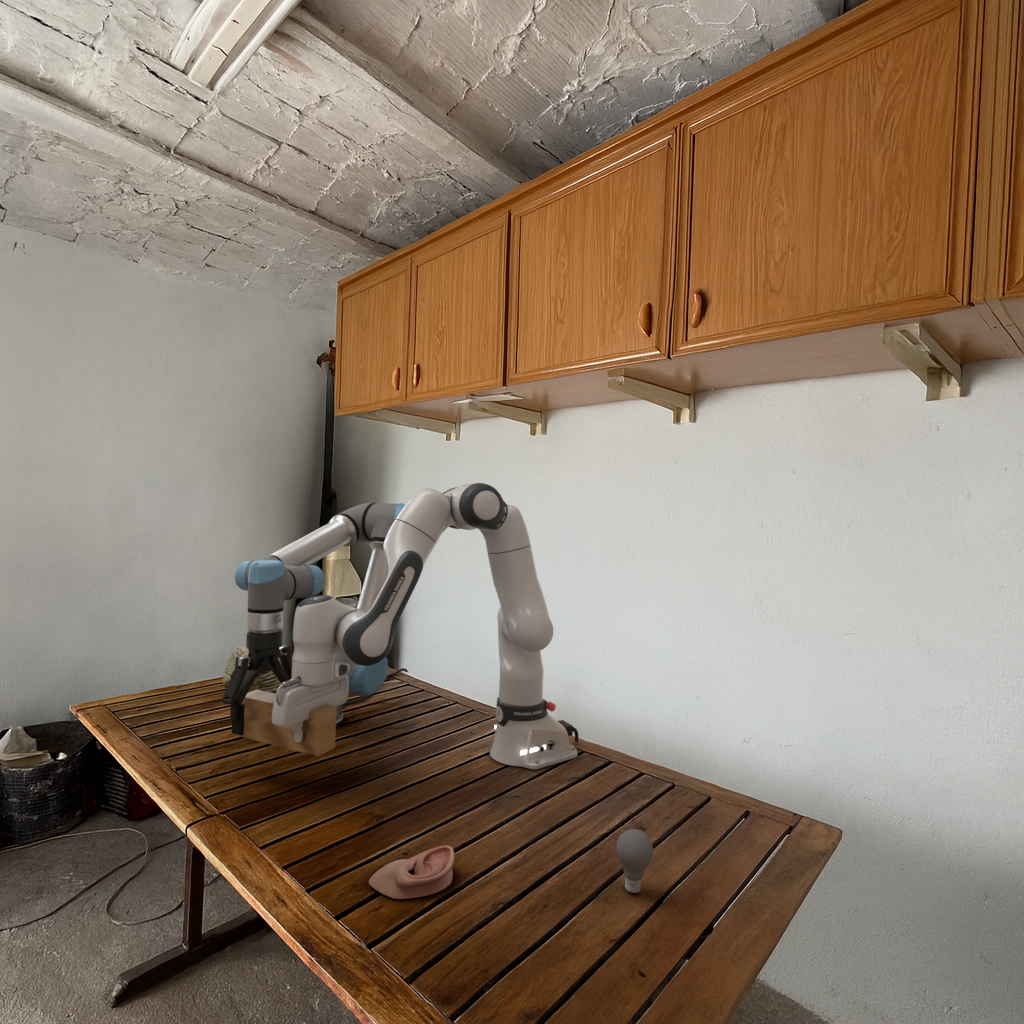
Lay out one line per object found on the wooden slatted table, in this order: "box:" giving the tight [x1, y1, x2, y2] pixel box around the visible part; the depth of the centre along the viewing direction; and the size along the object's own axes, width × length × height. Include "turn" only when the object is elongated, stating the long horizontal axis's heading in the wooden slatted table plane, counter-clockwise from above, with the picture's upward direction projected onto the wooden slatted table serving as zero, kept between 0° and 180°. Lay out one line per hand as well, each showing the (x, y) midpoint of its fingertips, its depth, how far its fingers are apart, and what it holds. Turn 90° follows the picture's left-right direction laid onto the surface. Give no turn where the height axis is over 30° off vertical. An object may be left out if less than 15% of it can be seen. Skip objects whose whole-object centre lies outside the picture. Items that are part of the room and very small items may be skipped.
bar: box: [236, 690, 337, 757], centre depth 139 cm, size 23×5×9 cm, turn 66°
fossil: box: [222, 646, 281, 699], centre depth 198 cm, size 9×18×15 cm, turn 132°
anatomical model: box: [368, 844, 455, 900], centre depth 106 cm, size 13×4×12 cm
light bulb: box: [615, 828, 654, 894], centre depth 106 cm, size 6×6×10 cm
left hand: (261, 724), depth 142 cm, fingers open, 13 cm apart
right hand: (311, 735), depth 136 cm, fingers closed on bar, 5 cm apart
